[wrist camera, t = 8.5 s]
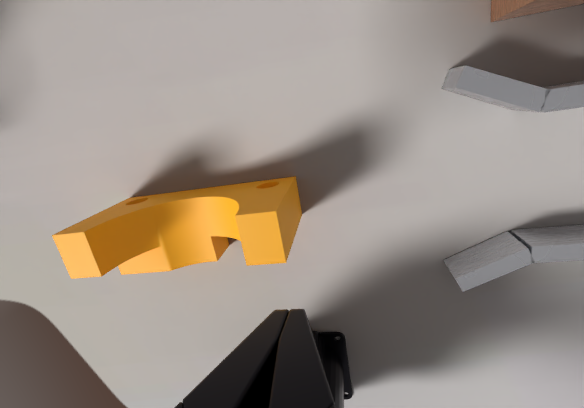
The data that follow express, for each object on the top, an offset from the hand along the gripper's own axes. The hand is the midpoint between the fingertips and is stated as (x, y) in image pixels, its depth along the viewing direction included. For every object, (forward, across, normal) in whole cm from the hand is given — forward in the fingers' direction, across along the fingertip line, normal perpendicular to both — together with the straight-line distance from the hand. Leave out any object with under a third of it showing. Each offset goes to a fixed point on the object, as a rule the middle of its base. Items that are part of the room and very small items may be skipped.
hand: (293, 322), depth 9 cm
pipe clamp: (+12, +7, +1) cm, 14 cm away
